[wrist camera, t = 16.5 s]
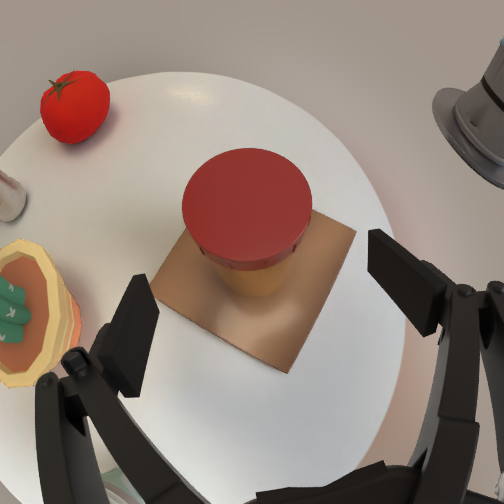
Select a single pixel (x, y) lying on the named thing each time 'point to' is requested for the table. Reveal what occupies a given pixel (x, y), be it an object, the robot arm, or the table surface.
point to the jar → (255, 279)
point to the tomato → (75, 106)
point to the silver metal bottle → (10, 198)
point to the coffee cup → (120, 488)
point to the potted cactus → (33, 314)
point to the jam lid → (247, 208)
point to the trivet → (264, 308)
